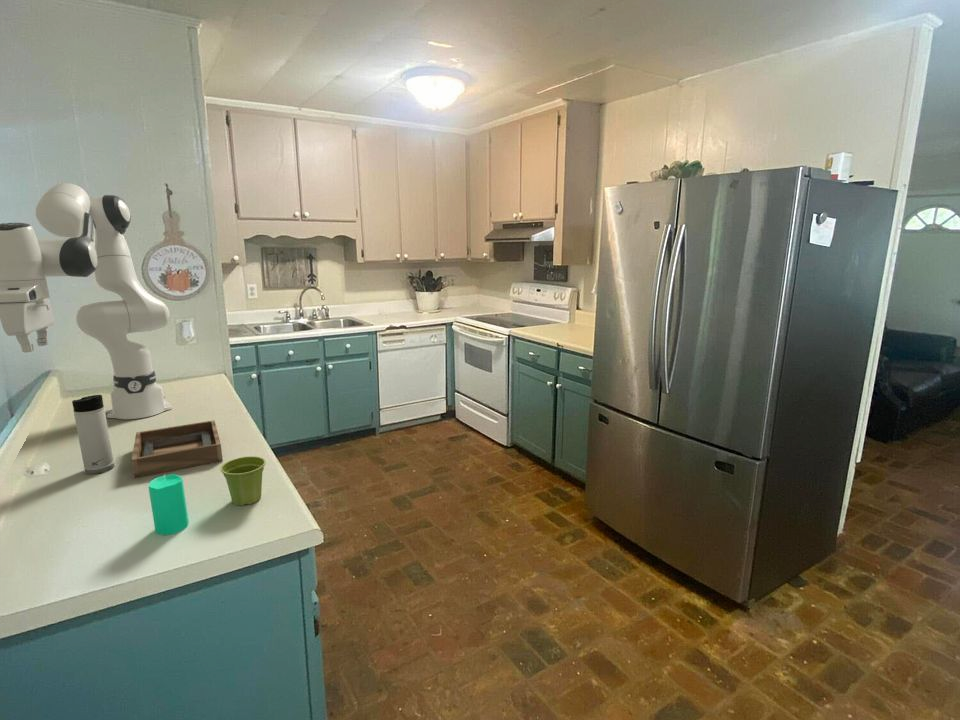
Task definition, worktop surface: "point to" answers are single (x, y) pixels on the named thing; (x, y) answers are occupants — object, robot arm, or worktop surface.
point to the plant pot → (244, 478)
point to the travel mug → (93, 434)
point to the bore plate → (176, 441)
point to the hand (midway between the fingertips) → (36, 348)
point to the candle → (168, 504)
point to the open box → (175, 450)
